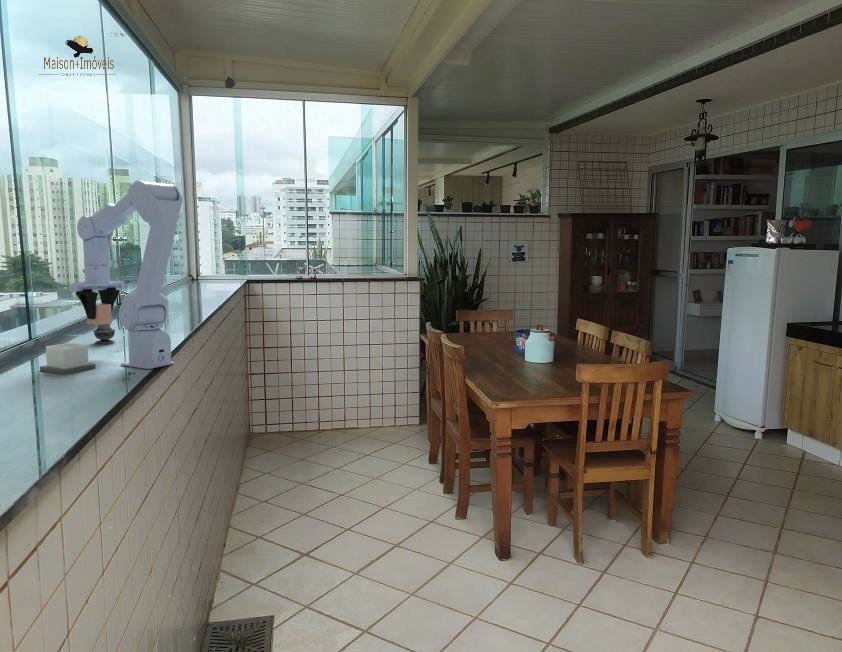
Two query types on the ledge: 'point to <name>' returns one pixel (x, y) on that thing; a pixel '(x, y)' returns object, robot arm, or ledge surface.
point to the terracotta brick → (101, 315)
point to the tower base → (67, 359)
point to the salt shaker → (104, 334)
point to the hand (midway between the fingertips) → (99, 318)
